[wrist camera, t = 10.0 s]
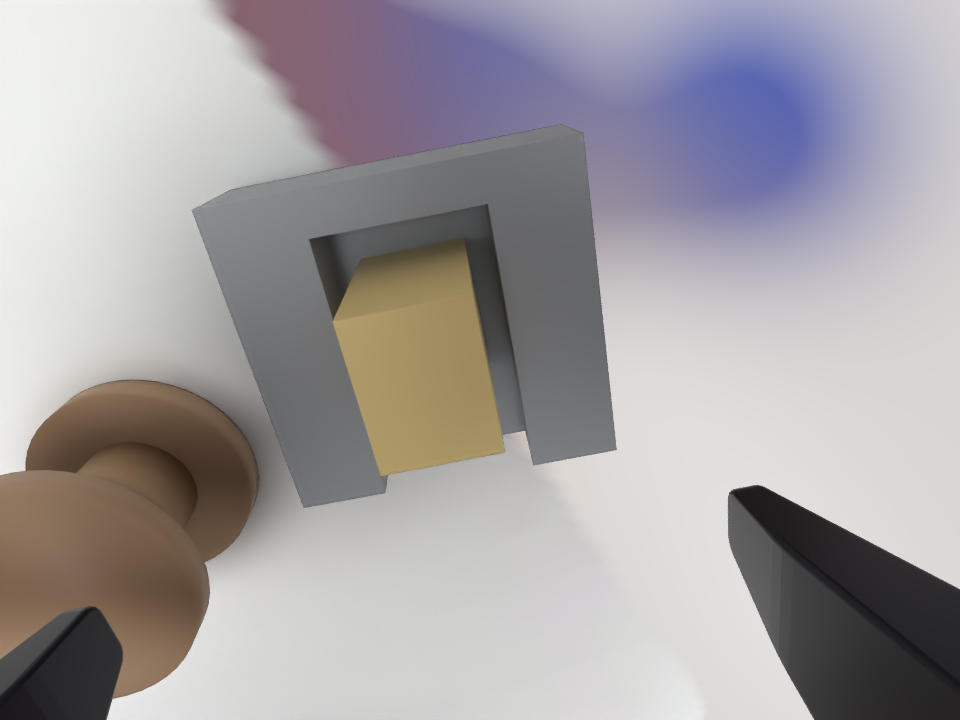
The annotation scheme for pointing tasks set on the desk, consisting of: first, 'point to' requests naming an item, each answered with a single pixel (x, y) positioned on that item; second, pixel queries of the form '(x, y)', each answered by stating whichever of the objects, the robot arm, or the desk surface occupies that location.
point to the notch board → (404, 225)
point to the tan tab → (419, 358)
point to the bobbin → (124, 520)
